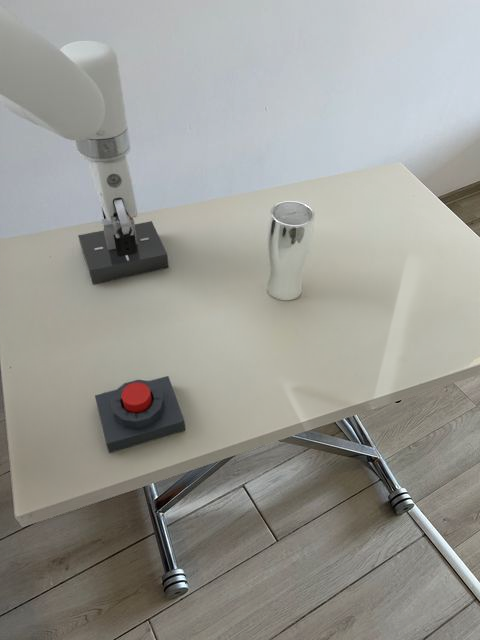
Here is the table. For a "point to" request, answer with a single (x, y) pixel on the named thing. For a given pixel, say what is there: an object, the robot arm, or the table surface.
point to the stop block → (139, 416)
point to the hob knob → (110, 232)
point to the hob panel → (112, 266)
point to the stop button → (136, 397)
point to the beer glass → (288, 247)
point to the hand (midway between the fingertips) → (120, 236)
